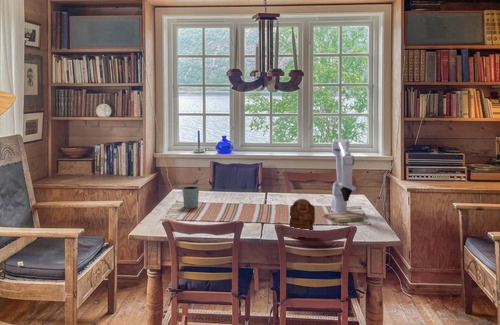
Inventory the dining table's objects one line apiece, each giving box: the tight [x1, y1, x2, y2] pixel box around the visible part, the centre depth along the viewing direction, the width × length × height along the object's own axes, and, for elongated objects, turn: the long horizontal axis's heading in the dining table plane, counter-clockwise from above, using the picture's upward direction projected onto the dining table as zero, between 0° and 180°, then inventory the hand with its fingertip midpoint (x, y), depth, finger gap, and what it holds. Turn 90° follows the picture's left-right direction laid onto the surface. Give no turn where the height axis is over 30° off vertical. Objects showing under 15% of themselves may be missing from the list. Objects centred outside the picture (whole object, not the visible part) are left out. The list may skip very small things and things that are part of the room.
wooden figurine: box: [288, 198, 316, 231], centre depth 220 cm, size 12×6×18 cm, turn 103°
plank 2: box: [331, 215, 352, 224], centre depth 248 cm, size 7×8×2 cm
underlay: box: [321, 215, 365, 224], centre depth 253 cm, size 16×18×1 cm
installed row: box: [337, 210, 364, 222], centre depth 255 cm, size 15×8×2 cm, turn 22°
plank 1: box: [323, 211, 342, 219], centre depth 255 cm, size 7×8×2 cm
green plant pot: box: [181, 185, 200, 209], centre depth 277 cm, size 10×10×12 cm
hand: (346, 200), depth 254 cm, fingers closed
